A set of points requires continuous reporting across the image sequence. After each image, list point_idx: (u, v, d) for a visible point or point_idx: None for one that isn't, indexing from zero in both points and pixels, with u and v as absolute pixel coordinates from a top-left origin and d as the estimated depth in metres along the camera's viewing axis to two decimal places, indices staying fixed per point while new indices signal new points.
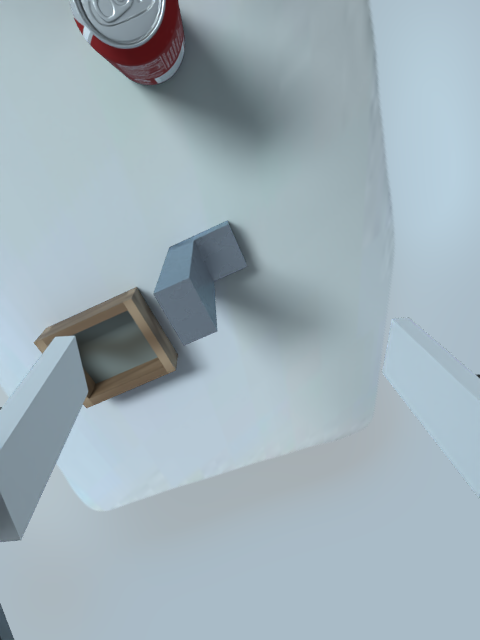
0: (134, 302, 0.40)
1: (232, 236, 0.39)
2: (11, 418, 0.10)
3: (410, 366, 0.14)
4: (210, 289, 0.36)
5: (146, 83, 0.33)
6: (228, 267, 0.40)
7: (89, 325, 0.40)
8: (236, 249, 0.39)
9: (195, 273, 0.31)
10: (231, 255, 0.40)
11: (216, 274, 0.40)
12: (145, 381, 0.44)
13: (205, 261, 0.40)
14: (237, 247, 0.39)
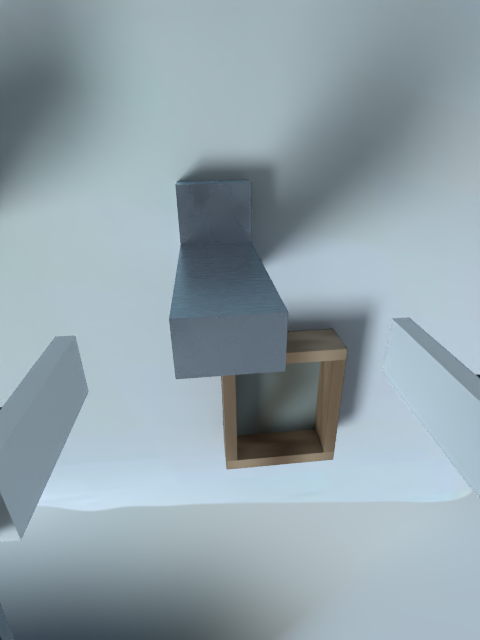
0: None
1: (196, 186, 0.24)
2: (11, 418, 0.10)
3: (410, 366, 0.14)
4: (244, 264, 0.22)
5: None
6: (240, 212, 0.26)
7: (233, 413, 0.31)
8: (218, 188, 0.25)
9: (192, 287, 0.19)
10: (224, 200, 0.25)
11: (242, 234, 0.26)
12: (339, 389, 0.31)
13: (217, 241, 0.26)
14: (215, 185, 0.25)
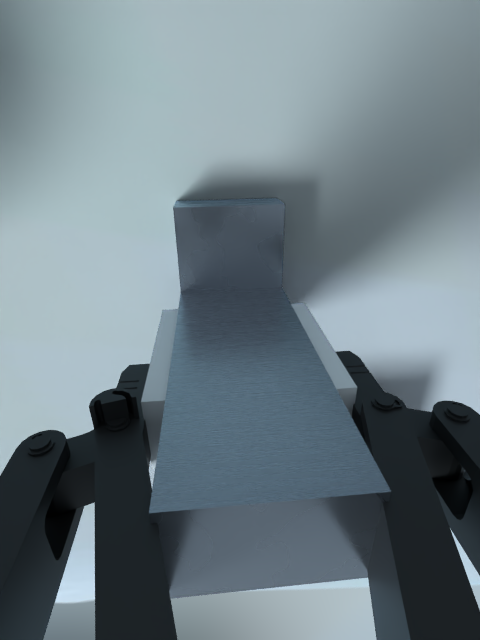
0: None
1: (203, 209, 0.17)
2: (163, 368, 0.12)
3: None
4: (279, 336, 0.14)
5: None
6: (267, 246, 0.18)
7: None
8: (236, 213, 0.17)
9: (196, 400, 0.11)
10: (244, 229, 0.17)
11: (270, 276, 0.18)
12: None
13: (233, 287, 0.18)
14: (232, 208, 0.17)
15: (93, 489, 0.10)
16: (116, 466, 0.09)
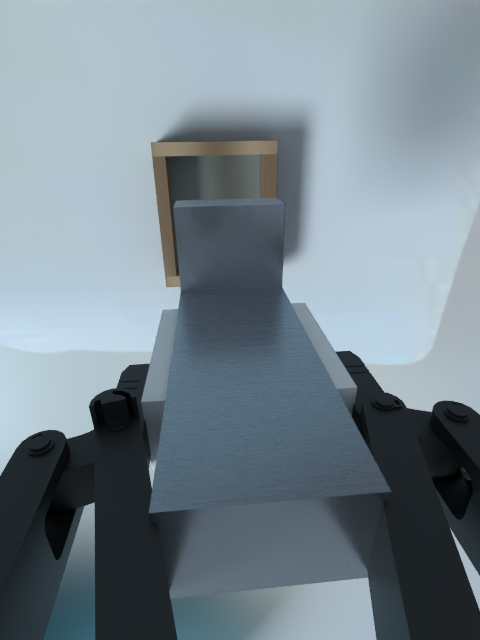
0: (158, 142, 0.29)
1: (203, 209, 0.17)
2: (163, 368, 0.12)
3: None
4: (279, 336, 0.14)
5: None
6: (267, 246, 0.18)
7: (168, 215, 0.31)
8: (236, 212, 0.17)
9: (196, 400, 0.11)
10: (244, 229, 0.17)
11: (270, 276, 0.18)
12: (273, 191, 0.31)
13: (233, 286, 0.18)
14: (232, 208, 0.17)
15: (93, 489, 0.10)
16: (116, 466, 0.09)
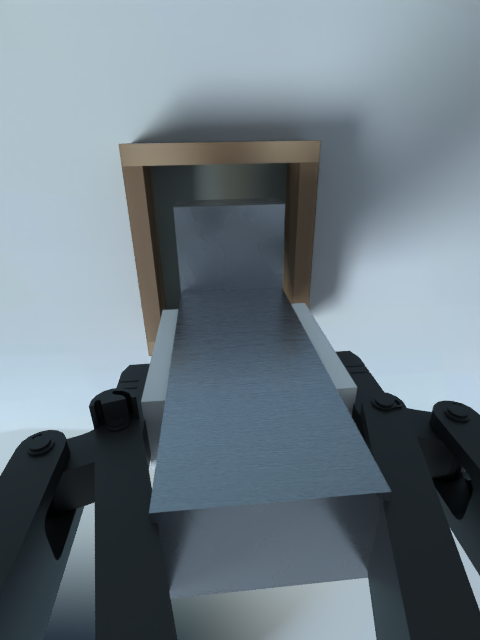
0: (132, 143, 0.18)
1: (203, 209, 0.17)
2: (163, 368, 0.12)
3: None
4: (279, 336, 0.14)
5: None
6: (267, 246, 0.18)
7: (149, 255, 0.20)
8: (236, 212, 0.17)
9: (196, 400, 0.11)
10: (244, 229, 0.17)
11: (270, 276, 0.18)
12: (311, 219, 0.20)
13: (233, 286, 0.18)
14: (232, 208, 0.17)
15: (93, 489, 0.10)
16: (116, 466, 0.09)
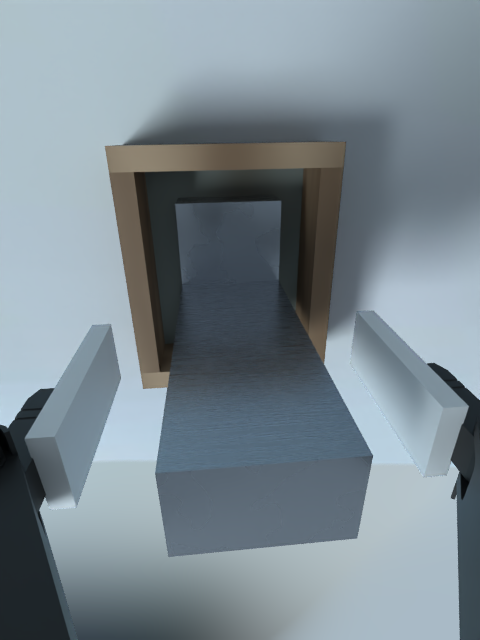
0: (121, 145, 0.15)
1: (204, 206, 0.17)
2: (66, 396, 0.11)
3: (371, 356, 0.15)
4: (275, 324, 0.15)
5: None
6: (264, 241, 0.18)
7: (142, 276, 0.17)
8: (234, 209, 0.18)
9: (197, 380, 0.11)
10: (242, 224, 0.18)
11: (267, 270, 0.19)
12: (332, 233, 0.17)
13: (232, 280, 0.19)
14: (231, 205, 0.18)
15: None
16: None
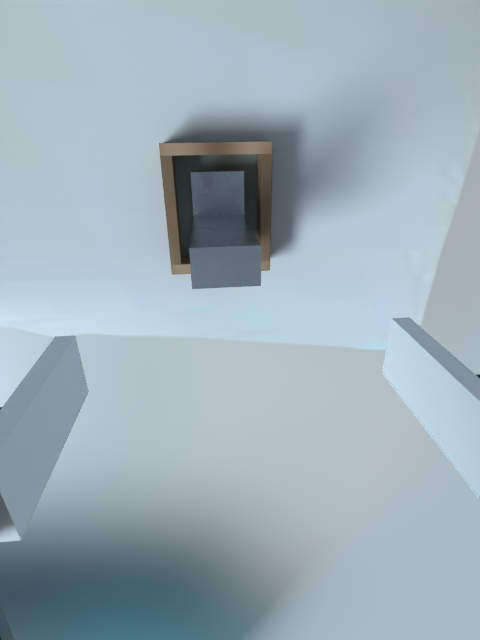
0: (166, 143, 0.33)
1: (205, 173, 0.35)
2: (11, 418, 0.10)
3: (410, 366, 0.14)
4: (237, 225, 0.32)
5: None
6: (236, 192, 0.36)
7: (174, 208, 0.35)
8: (220, 175, 0.35)
9: (202, 235, 0.29)
10: (224, 183, 0.35)
11: (238, 208, 0.36)
12: (269, 187, 0.35)
13: (219, 213, 0.36)
14: (218, 173, 0.35)
15: None
16: None
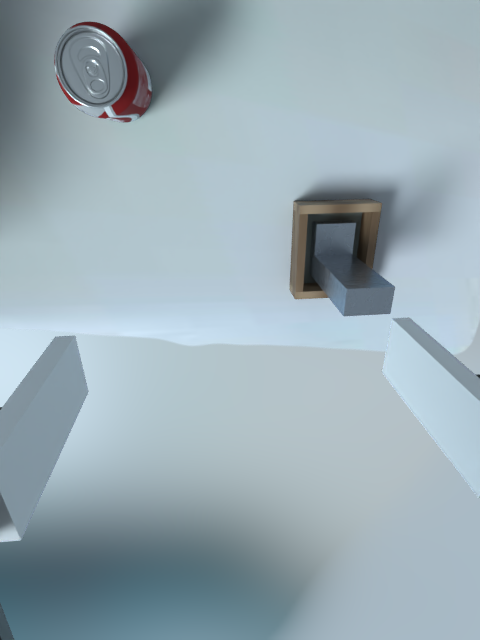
0: (304, 205, 0.44)
1: (327, 225, 0.46)
2: (11, 418, 0.10)
3: (410, 366, 0.14)
4: (358, 266, 0.44)
5: (149, 101, 0.39)
6: (348, 238, 0.47)
7: (304, 251, 0.46)
8: (338, 226, 0.47)
9: (343, 277, 0.40)
10: (340, 232, 0.47)
11: (348, 249, 0.48)
12: (375, 235, 0.46)
13: (334, 253, 0.48)
14: (337, 224, 0.46)
15: None
16: None
